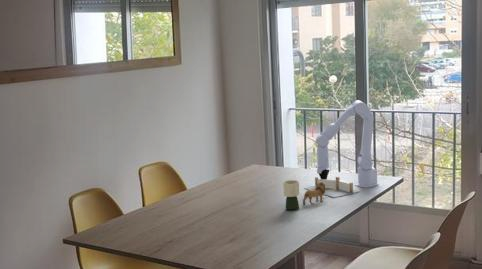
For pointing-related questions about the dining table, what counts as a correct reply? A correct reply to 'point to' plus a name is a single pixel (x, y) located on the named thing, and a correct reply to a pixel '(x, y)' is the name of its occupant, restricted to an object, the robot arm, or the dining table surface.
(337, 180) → the fixed fence panel
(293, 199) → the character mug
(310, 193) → the lion figurine
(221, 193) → the dining table surface
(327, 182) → the hinged fence panel
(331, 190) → the card
